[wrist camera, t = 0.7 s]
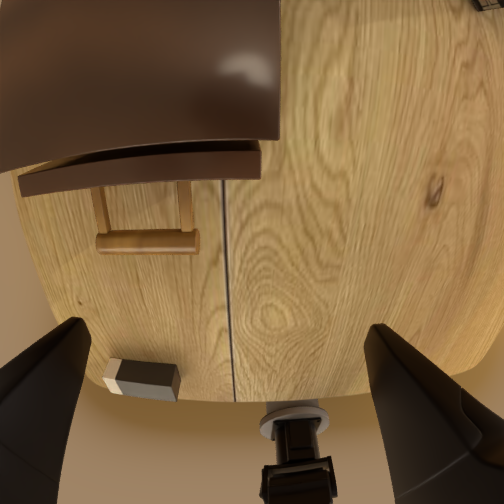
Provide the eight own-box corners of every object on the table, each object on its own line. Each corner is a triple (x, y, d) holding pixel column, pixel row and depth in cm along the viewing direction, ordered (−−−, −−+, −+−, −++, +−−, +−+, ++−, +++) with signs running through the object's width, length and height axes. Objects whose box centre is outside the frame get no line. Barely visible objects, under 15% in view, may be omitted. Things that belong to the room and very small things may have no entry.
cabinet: (265, 125, 17) (280, 140, 10) (78, 142, 17) (-2, 174, 9) (265, -56, 10) (275, -126, 3) (83, -25, 10) (19, -57, 2)
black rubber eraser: (180, 380, 29) (177, 401, 27) (117, 373, 29) (111, 392, 27) (176, 364, 28) (171, 386, 25) (109, 357, 28) (101, 377, 25)
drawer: (256, 222, 19) (259, 279, 13) (91, 225, 19) (43, 274, 13) (257, -36, 11) (261, -91, 5) (80, -4, 10) (24, -26, 5)
